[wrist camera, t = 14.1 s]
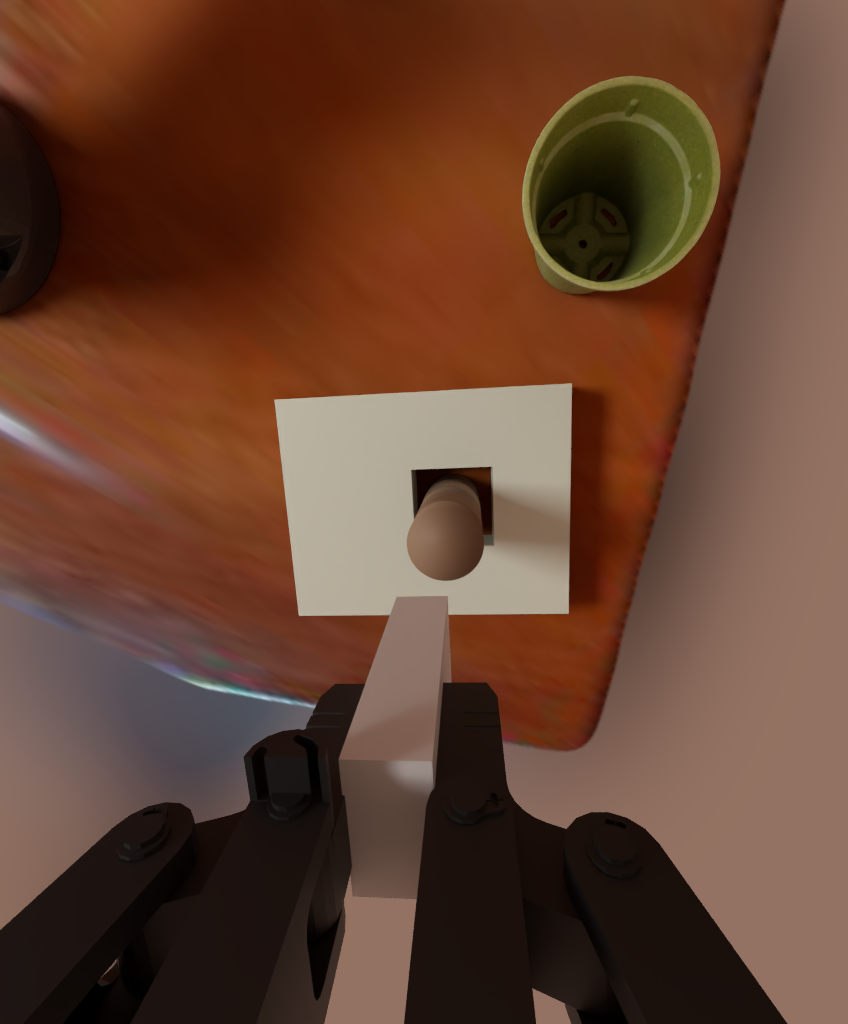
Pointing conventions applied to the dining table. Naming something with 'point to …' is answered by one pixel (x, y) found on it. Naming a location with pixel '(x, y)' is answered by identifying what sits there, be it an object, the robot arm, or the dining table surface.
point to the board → (394, 503)
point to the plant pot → (620, 185)
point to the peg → (447, 530)
